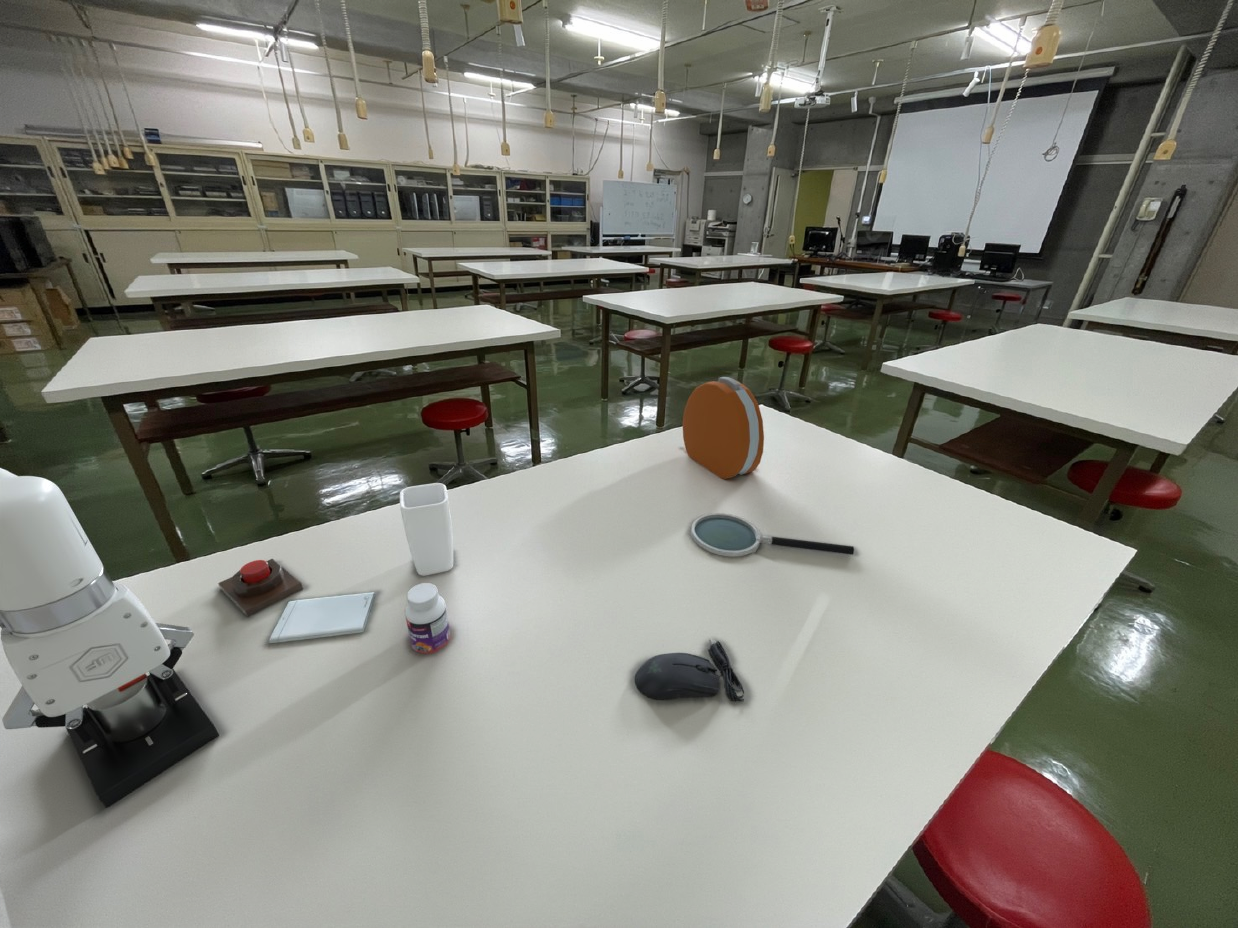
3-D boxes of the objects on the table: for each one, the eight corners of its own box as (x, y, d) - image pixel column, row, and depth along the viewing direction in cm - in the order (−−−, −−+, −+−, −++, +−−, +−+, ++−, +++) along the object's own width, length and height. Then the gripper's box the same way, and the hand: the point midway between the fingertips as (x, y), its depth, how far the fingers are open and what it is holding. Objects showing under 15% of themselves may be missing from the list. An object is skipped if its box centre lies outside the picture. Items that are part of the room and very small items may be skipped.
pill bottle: (403, 648, 72) (392, 597, 68) (432, 624, 76) (423, 574, 72) (431, 663, 70) (421, 611, 65) (458, 637, 74) (451, 587, 70)
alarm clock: (764, 477, 122) (781, 389, 112) (733, 486, 118) (749, 396, 107) (707, 443, 139) (717, 363, 129) (678, 449, 135) (687, 368, 124)
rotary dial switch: (74, 736, 59) (61, 719, 57) (178, 679, 66) (169, 663, 65) (110, 813, 52) (96, 796, 50) (222, 740, 59) (213, 723, 58)
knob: (117, 751, 54) (93, 716, 52) (102, 726, 57) (78, 692, 54) (173, 717, 58) (153, 683, 56) (156, 695, 61) (137, 662, 58)
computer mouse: (626, 657, 72) (627, 638, 70) (721, 645, 75) (724, 627, 73) (641, 720, 63) (643, 700, 62) (748, 704, 66) (753, 685, 64)
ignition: (222, 593, 80) (214, 574, 79) (276, 568, 86) (269, 549, 84) (249, 621, 75) (241, 601, 74) (304, 592, 81) (298, 573, 79)
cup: (459, 575, 86) (448, 502, 80) (414, 584, 84) (399, 510, 77) (454, 550, 92) (445, 481, 86) (412, 558, 90) (399, 487, 83)
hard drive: (374, 590, 80) (289, 599, 78) (362, 628, 73) (267, 639, 70) (376, 598, 81) (291, 607, 78) (364, 636, 74) (271, 647, 71)
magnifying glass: (860, 577, 90) (863, 568, 89) (689, 555, 94) (690, 546, 93) (843, 534, 102) (845, 526, 101) (691, 516, 106) (692, 508, 105)
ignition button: (239, 576, 79) (235, 568, 78) (264, 565, 81) (261, 556, 81) (249, 586, 77) (245, 577, 76) (274, 574, 80) (271, 565, 79)
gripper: (-77, 676, 41) (35, 802, 49) (180, 568, 53) (235, 684, 62) (-86, 633, 44) (20, 757, 53) (156, 542, 57) (211, 654, 65)
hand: (135, 717), depth 57 cm, fingers open, 5 cm apart
